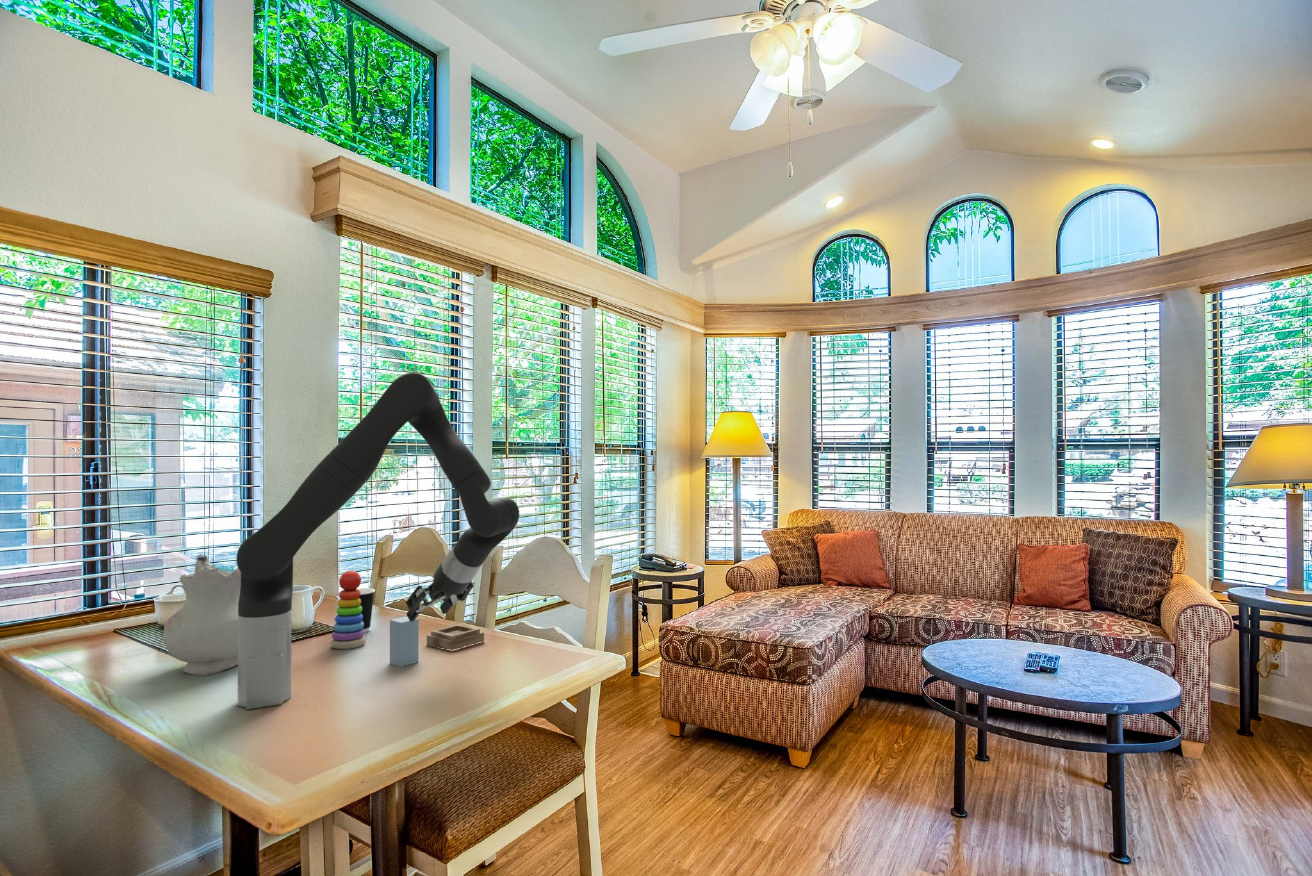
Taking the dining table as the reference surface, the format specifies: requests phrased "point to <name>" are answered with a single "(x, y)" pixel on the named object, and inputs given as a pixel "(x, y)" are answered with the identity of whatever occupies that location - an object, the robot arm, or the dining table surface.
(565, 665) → the dining table surface
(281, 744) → the dining table surface
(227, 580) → the ceramic pitcher
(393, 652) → the slate-blue pillar
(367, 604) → the dixie cup
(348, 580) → the stacking toy
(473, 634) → the walnut socket base
